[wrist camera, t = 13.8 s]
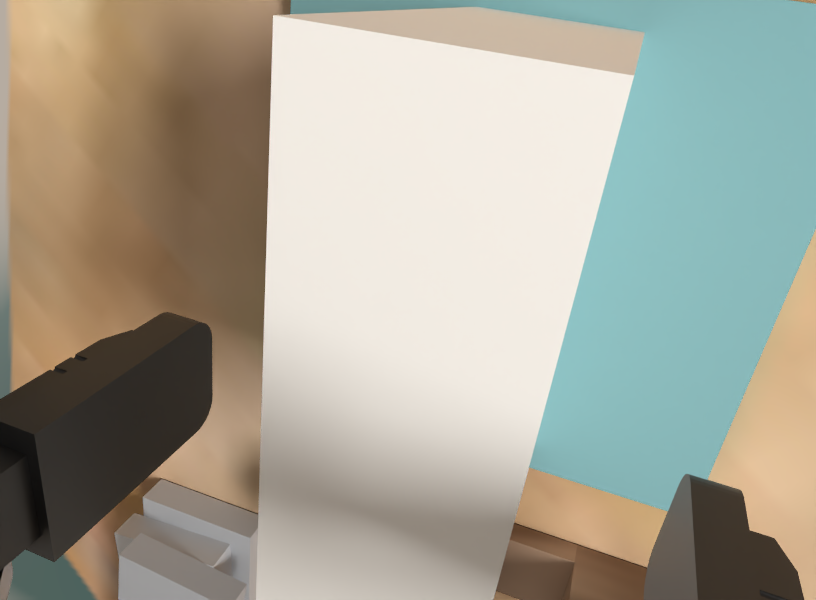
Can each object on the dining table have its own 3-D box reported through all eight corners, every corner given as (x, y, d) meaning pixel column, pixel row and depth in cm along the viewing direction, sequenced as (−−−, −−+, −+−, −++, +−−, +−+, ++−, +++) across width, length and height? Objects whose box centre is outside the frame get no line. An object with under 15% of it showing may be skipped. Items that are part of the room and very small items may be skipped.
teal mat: (897, 15, 14) (907, 16, 13) (689, 505, 20) (690, 518, 20) (304, -65, 17) (293, -67, 17) (283, 378, 24) (275, 386, 23)
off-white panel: (644, 32, 15) (634, 75, 6) (534, 443, 21) (448, 764, 12) (476, 6, 16) (272, 14, 7) (413, 405, 21) (253, 679, 13)
